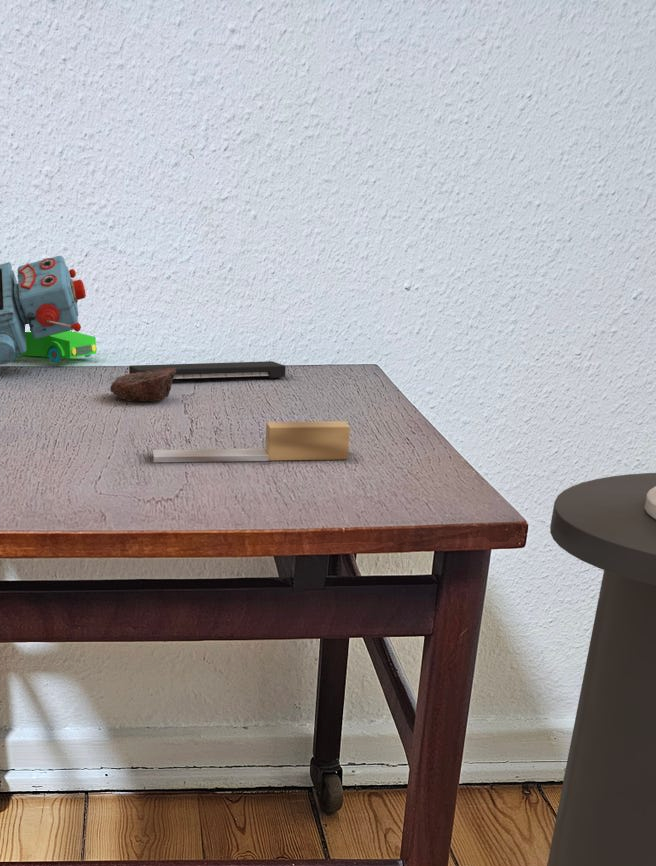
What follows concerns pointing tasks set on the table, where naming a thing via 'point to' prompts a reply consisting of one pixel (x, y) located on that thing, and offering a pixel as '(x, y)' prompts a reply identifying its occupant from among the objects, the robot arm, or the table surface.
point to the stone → (144, 385)
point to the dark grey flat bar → (218, 369)
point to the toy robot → (37, 303)
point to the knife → (277, 445)
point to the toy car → (60, 345)
